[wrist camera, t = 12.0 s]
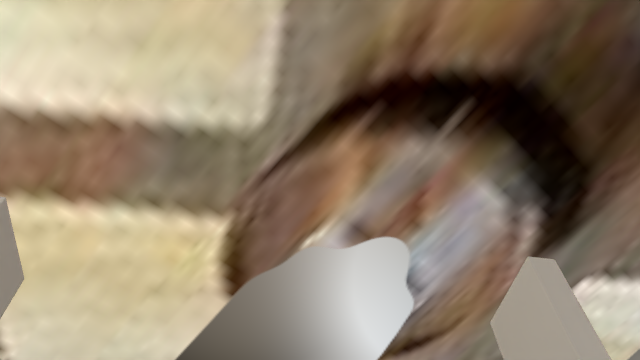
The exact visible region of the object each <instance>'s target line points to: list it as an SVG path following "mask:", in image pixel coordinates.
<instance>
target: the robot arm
mask: <svg viewBox="0 0 640 360" xmlns="http://www.w3.org/2000/svg"><path fill="white" fill-rule="evenodd" d="M23 280H24V275H23V271H22V266H21V262H20V258H19V253H18V249H17V245H16V241H15V236H14V232H13V228H12V223H11V219H10V215H9V210H8V206H7V202H6V197H0V318H1V317H2V315H3V313H4V312H5V310H6V308H7V307H8V305H9V303H10V302H11V300H12V298H13V297H14V295H15V293H16V292H17V290H18V288H19V287H20V285H21V283H22V282H23ZM490 324H491V327H492V329H493V332H494V335H495V337H496V340H497V343H498V345H499V348H500V351H501V354H502V356H503V359H504V360H611V358H610V356H609V355H608V353H607V351H606V349H605V348H604V346H603V344H602V342H601V341H600V339H599V337H598V335H597V334H596V332H595V330H594V328H593V326H592V325H591V323H590V321H589V319H588V318H587V316H586V314H585V312H584V311H583V309H582V307H581V305H580V304H579V302H578V300H577V298H576V297H575V295H574V293H573V291H572V290H571V288H570V286H569V284H568V282H567V281H566V279H565V277H564V275H563V274H562V272H561V270H560V268H559V267H558V265H557V263H556V261H555V260H554V259H545V258H536V257H527V259H526V261H525V262H524V264H523V266H522V268H521V269H520V271H519V273H518V275H517V276H516V278H515V280H514V282H513V283H512V285H511V287H510V289H509V290H508V292H507V294H506V296H505V297H504V299H503V301H502V303H501V304H500V306H499V308H498V310H497V311H496V313H495V315H494V317H493V318H492V320H491V322H490Z"/></svg>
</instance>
